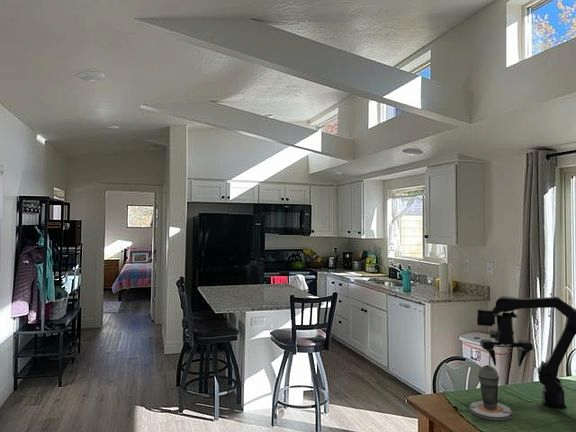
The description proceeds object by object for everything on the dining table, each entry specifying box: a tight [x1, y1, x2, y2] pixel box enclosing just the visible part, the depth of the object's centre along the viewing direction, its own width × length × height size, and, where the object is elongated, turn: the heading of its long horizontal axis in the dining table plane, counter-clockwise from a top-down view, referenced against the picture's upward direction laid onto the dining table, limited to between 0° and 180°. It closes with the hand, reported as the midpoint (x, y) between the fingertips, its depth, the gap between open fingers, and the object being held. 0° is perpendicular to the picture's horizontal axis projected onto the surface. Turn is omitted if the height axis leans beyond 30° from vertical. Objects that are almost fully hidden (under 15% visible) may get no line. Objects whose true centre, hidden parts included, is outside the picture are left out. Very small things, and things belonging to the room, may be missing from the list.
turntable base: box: [468, 405, 514, 422], centre depth 159 cm, size 15×15×1 cm
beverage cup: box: [477, 354, 500, 410], centre depth 160 cm, size 7×7×20 cm
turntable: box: [469, 400, 512, 418], centre depth 159 cm, size 14×14×1 cm
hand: (507, 366), depth 173 cm, fingers open, 9 cm apart
